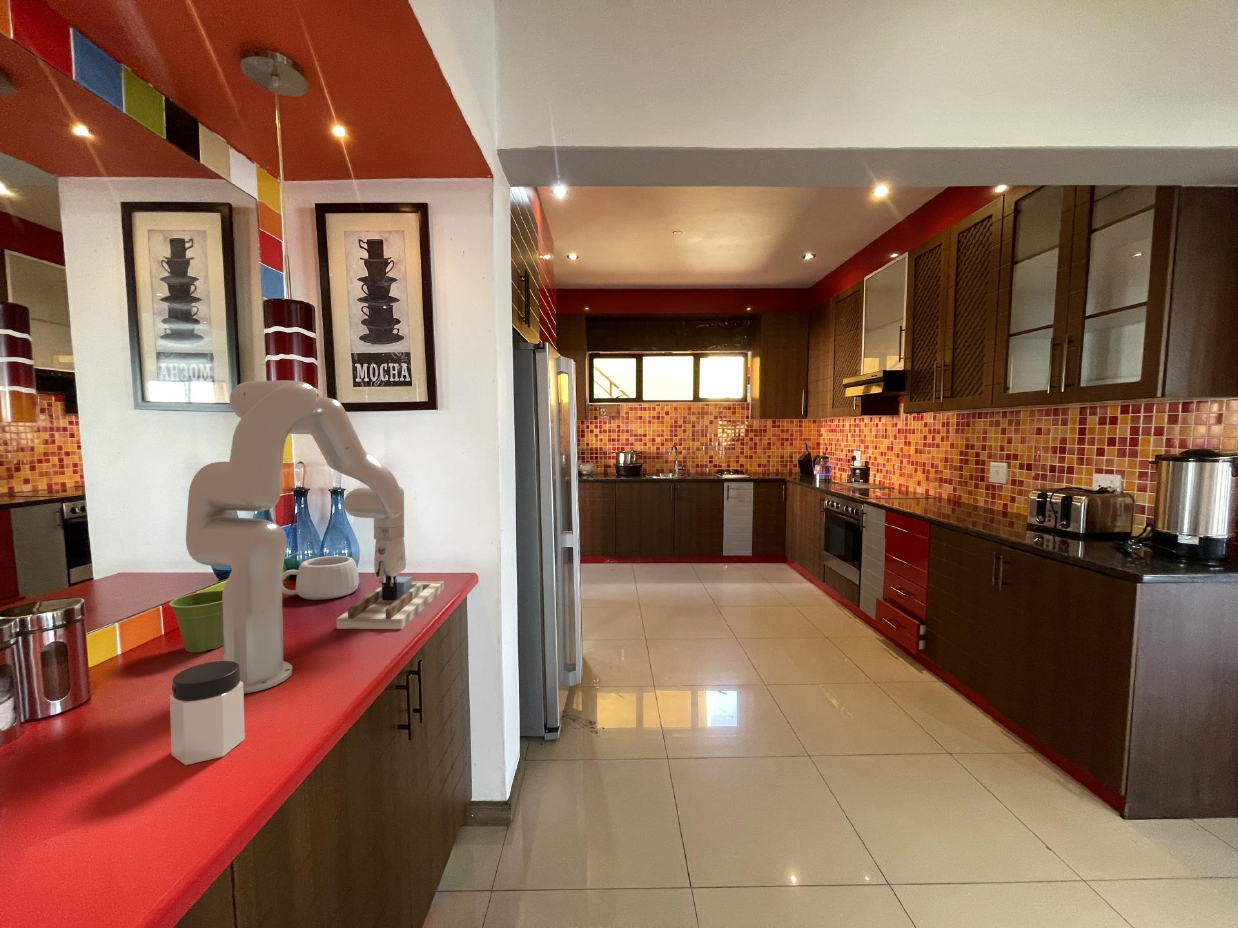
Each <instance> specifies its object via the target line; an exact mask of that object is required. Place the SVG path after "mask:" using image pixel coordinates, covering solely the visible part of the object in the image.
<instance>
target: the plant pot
mask: <svg viewBox="0 0 1238 928" xmlns="http://www.w3.org/2000/svg"><path fill="white" fill-rule="evenodd" d="M222 595H223V589H216V590H204V591H199V592H194V593H189V594H186V595H182V596H178V597H177V598H176V597H175V598H174V599H172V600H170V602H169V603H168V606H170V607H171V608H172V610H173V614H174V616H175V617H176V620H177V624H178V628H179V631H180V635H181V640H182V644H183V646H184V650H185V651H186V652H187V653H191V654H192V653H193V654H194V653H203V652H207V651H208V650H215V649H219V648H221V647H222V646H224V638H223V606H222Z"/></svg>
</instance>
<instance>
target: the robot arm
mask: <svg viewBox="0 0 1238 928" xmlns="http://www.w3.org/2000/svg"><path fill="white" fill-rule="evenodd" d="M229 404H230V408H231V409H232V412H233V413H234V414H235V415H236V416H237V417H238V418H240V420H239V422H238V423H237V425H236V427H235V430H234V432H233V435H232V440H231V441H232V442H231V449H230V456H229V460H228V461H215V462H211V463H207V464H206V465H204V466H203V467H201V468H200V469H199V470H198V471H197V472H196V473H195V475H194V476H193V477H192V478H193V479H191V483H190V485H189V490H188V497H187V498H188V499H187V512H186V513H187V514H186V527H185V528H186V529H185V531H186V532H185V545H186V550H187V552H188V555H189V556H190V558H191V559H192V560H193V561H195V562H196V563H198V564H202V565H206V566H209V567H210V566H212V567H223V568H224V567H225V568H231V571H230V573H229V576H228V578H227V580H226V581H225V584H224V587H223V589H222V590H223V595H222V606H223V638H224V645H223V659H220V660H219V661H232V662H236V663H238V664H239V666H240V681H241V682H243V694H249V693H255V692H259V691H260V692H261V691H263V690H268V689H269V688H273V687H274V686H278V685H279V684H281V683H283V682H285V681H287V680H288V679H289V678H290V677H291V676H292V674H293V669H294V668H293V665H292V664H291V663H289V662H287V661H284V635H283V634H284V633H283V632H284V628H283V625H284V624H283V623H284V622H283V593H282V574H283V569H284V562H285V557H286V552H287V548H288V537H287V534H286V532H285V530H284V529H283V528H282V527H281V526H280V525H279V524H278V523H275V522H273V521H271V520H267V519H263V518H262V519H261V518H251V517H249V518H248V517H238V512H265V511H268V510H271V509H272V508H275V507H276V505H278V503H279V501H280V497H281V495H282V494H281V493H282V483H283V466H284V453H285V445H286V440H287V438H288V436H289V434H291V435H309V436H310V435H311V436H312V438H313V440H314V442H315V444H316V445H317V447H318V449H319V450H320V453H321V454H322V456H323V458H324V460H325V462H326V464H327V466H329V467H330V469H332V470H334V471H335V472H338V473H340V474H342V475H344V476H346V477H350V478H353V479H354V480H356V481H359V482H361V483H363V484H364V485H366V486H367V487H359V488H358V487H357V488H354V489H352V490H351V491H349V492H348V493H347V494H346V496H345V497H344V498H343V507H344V508H343V509H344V510H345V512H346V513H347V514H348V515H350V516H352V517H354V518H363V519H365V518H366V519H373V540H375V545H374V547H375V548H374V561H373V562H374V564H373V567H374V568H373V569H374V576H376V577H377V578H378V583H380V584H381V586H382V599H383V600H384V601H393V600H395V599H396V598H397V577H398V575H399V574H401V573H402V572H403V571H404V570H405V569H406V566H407V561H406V545H405V539H404V538H405V491H404V489H403V488H402V486H401V487H400V484H399V482H398V480H397V478H396V477H395V476H394V473H392V472H391V471H390V470H389V468H388V467H386V466H385V465H384V464H383V463H382V462H380V461H379V460H378V459H377V458H375V457H374V456H372V454H370V453H368V452H367V451H366V450H365V448H364V447H363V445H362V443H361V441H360V439H359V436H358V434H357V433H356V430H355V428H354V426H353V424H352V421H351V420H350V418H349V414H347V412H346V410H345V408H344V406H343V405H342V403H341V402H339V401H338V400H336V399H335V398H330V397H319V396H318V393H317V391H316V389H315V388H314V387H313V386H312V385H311V384H309V383H307V382H305V381H300V380H290V379H289V380H288V379H287V380H284V379H283V380H250V381H248V380H247V381H245V382H244V381H243V382H241V383H239V384H238V385H236V386H235V387H234V388H233V389H232V391H231V393H230V396H229Z"/></svg>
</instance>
